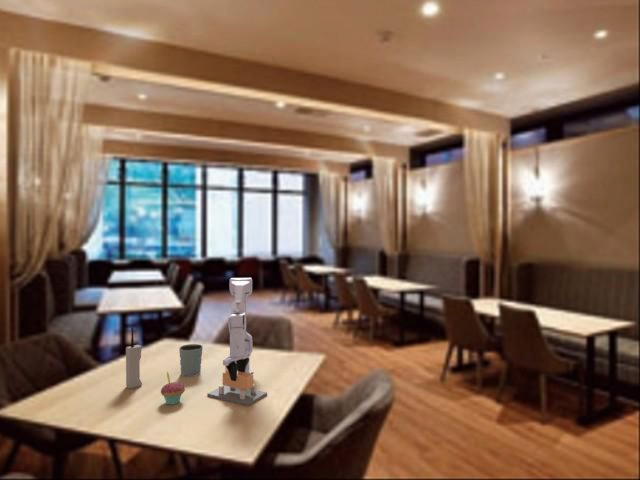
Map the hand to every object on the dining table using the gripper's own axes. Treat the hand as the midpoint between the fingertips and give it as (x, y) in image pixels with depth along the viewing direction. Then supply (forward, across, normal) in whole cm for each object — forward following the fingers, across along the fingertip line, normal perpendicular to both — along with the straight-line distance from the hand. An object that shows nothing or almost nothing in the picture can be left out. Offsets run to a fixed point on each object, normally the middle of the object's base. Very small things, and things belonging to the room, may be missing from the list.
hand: (237, 378), depth 159 cm
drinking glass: (+7, +10, +35) cm, 37 cm away
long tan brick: (+3, 0, 0) cm, 3 cm away
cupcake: (+7, -16, +18) cm, 25 cm away
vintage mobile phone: (+7, -13, +44) cm, 46 cm away
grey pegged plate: (+7, 0, 0) cm, 7 cm away
